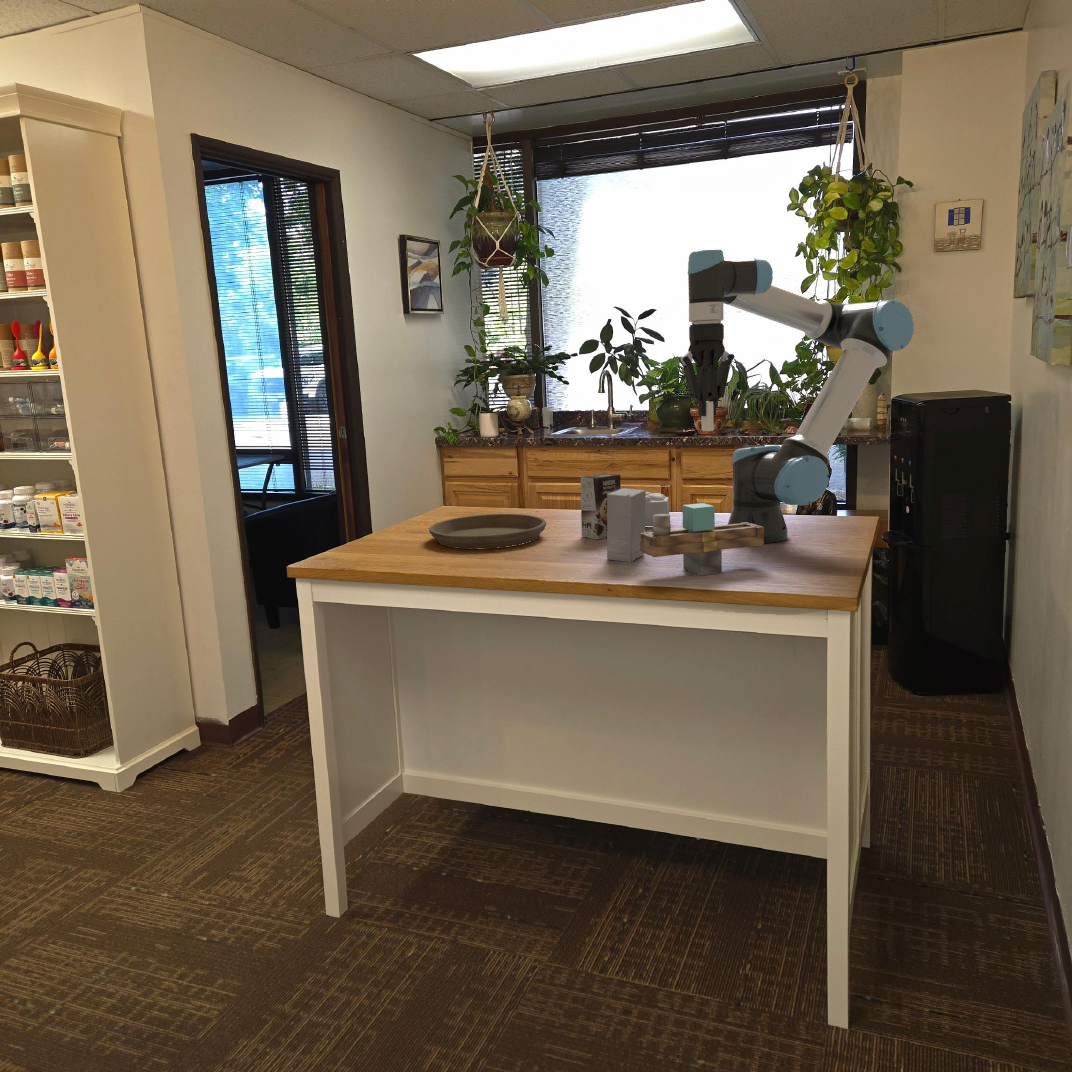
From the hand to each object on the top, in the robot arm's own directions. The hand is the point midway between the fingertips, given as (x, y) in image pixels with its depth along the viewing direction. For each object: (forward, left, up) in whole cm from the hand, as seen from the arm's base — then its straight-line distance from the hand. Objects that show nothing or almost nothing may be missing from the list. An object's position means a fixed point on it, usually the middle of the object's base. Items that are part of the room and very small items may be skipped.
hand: (707, 430), depth 210 cm
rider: (+8, +11, -22) cm, 26 cm away
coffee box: (+11, -37, -29) cm, 49 cm away
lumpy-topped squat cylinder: (-6, -47, -30) cm, 55 cm away
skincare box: (+16, -9, -29) cm, 35 cm away
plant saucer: (+39, -48, -30) cm, 69 cm away
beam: (+7, +11, -29) cm, 32 cm away
